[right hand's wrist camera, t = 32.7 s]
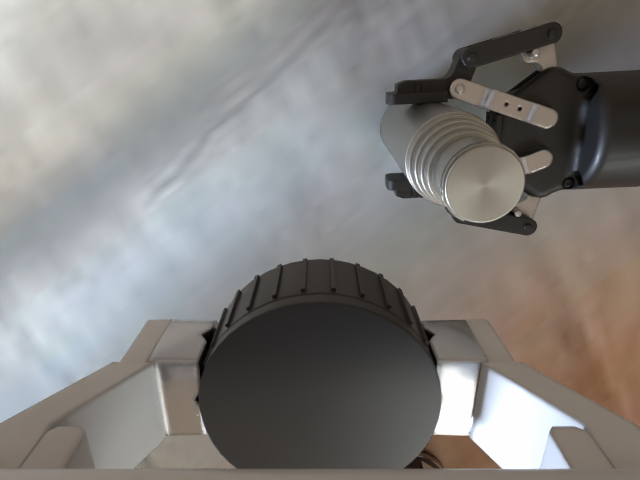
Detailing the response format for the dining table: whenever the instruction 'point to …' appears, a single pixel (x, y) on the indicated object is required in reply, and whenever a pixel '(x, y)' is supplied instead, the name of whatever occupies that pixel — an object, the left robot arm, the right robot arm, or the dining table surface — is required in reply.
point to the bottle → (454, 160)
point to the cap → (319, 372)
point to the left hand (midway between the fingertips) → (387, 141)
